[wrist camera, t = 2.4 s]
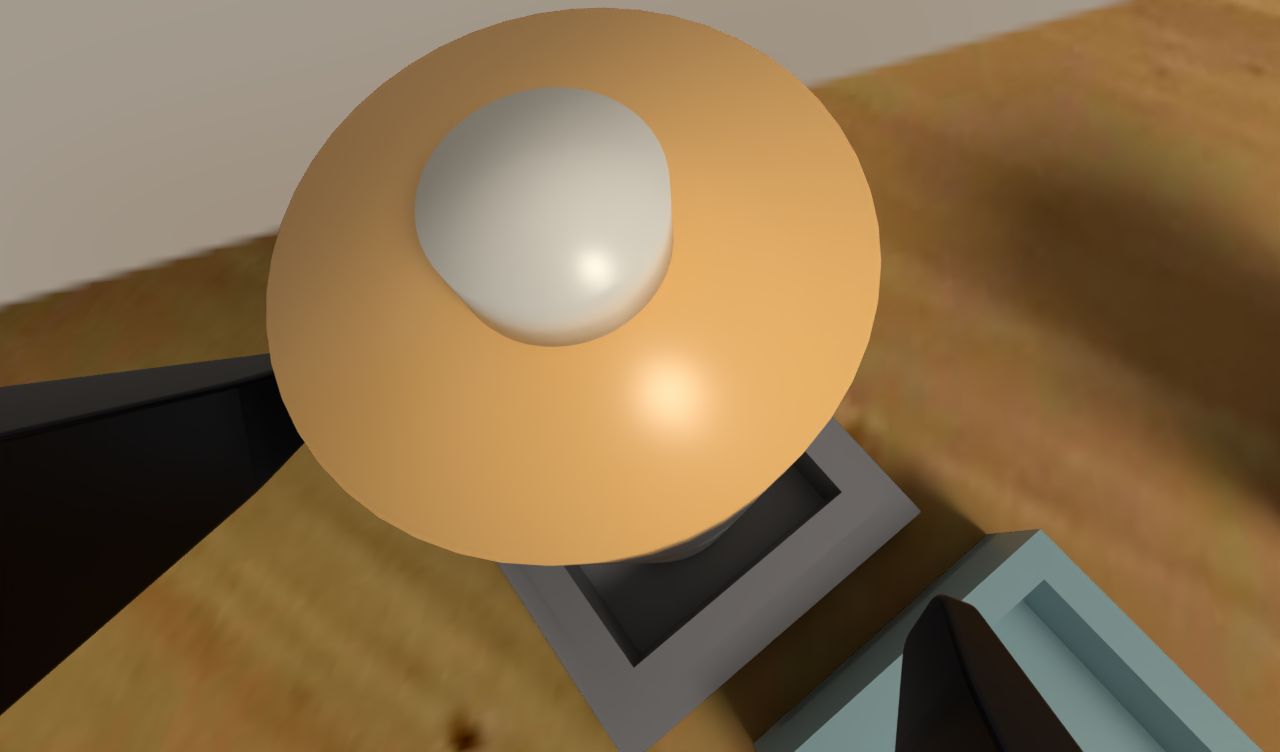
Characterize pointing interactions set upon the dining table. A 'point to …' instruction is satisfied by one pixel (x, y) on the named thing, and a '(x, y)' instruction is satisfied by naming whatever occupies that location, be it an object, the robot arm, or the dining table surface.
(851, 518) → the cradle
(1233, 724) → the trough
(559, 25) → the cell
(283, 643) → the dining table surface
